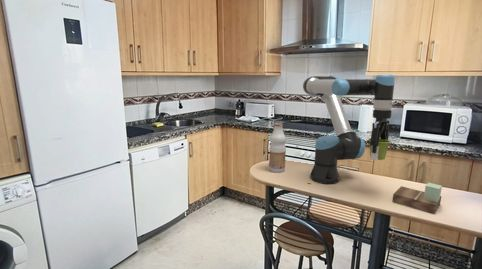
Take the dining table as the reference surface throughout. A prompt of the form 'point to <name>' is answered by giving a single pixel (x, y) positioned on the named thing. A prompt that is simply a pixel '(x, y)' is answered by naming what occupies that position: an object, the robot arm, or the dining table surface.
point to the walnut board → (415, 200)
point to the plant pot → (381, 148)
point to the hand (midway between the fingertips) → (378, 157)
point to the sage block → (432, 192)
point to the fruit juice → (277, 149)
